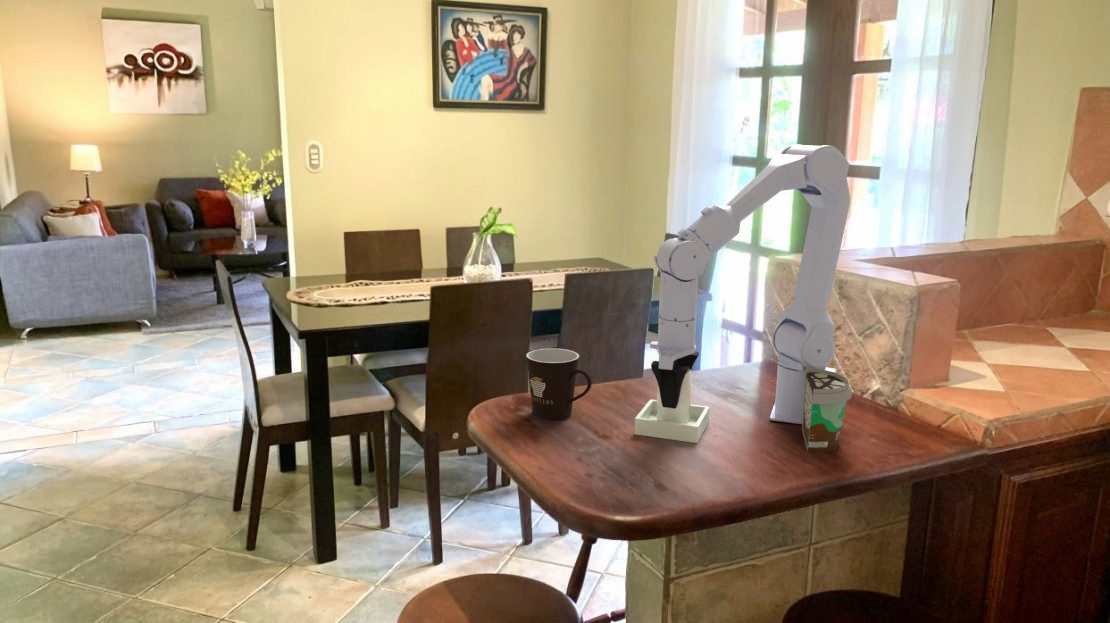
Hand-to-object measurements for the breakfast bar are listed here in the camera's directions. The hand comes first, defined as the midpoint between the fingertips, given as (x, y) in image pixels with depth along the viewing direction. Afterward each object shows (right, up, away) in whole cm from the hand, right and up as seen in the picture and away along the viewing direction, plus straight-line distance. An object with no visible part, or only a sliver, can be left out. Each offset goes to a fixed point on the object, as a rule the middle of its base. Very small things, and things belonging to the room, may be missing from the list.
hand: (673, 401), depth 129 cm
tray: (0, -4, +1) cm, 4 cm away
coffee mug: (-19, -3, +6) cm, 20 cm away
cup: (0, -3, +1) cm, 3 cm away
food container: (+23, -6, -4) cm, 24 cm away
